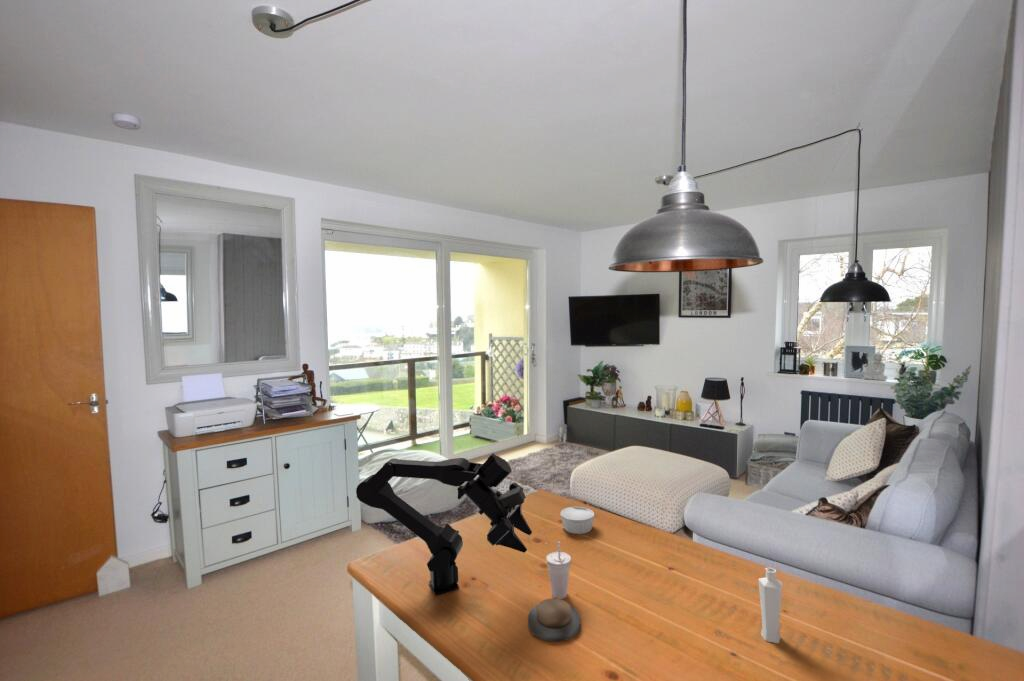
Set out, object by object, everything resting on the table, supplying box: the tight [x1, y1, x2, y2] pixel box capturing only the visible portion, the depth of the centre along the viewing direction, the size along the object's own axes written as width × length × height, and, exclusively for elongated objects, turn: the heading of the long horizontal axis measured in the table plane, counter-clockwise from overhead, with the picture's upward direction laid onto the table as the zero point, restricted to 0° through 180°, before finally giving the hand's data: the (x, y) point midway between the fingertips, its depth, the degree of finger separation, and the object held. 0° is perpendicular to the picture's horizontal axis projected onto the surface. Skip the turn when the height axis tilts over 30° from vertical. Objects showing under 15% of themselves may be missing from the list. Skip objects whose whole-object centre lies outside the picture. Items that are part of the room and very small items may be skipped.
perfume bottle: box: [758, 567, 783, 644], centre depth 101 cm, size 5×4×15 cm
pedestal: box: [527, 597, 581, 643], centre depth 108 cm, size 12×12×4 cm
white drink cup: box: [545, 541, 572, 600], centre depth 119 cm, size 6×6×14 cm
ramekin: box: [560, 506, 595, 535], centre depth 156 cm, size 11×11×5 cm
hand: (528, 542), depth 120 cm, fingers open, 9 cm apart
